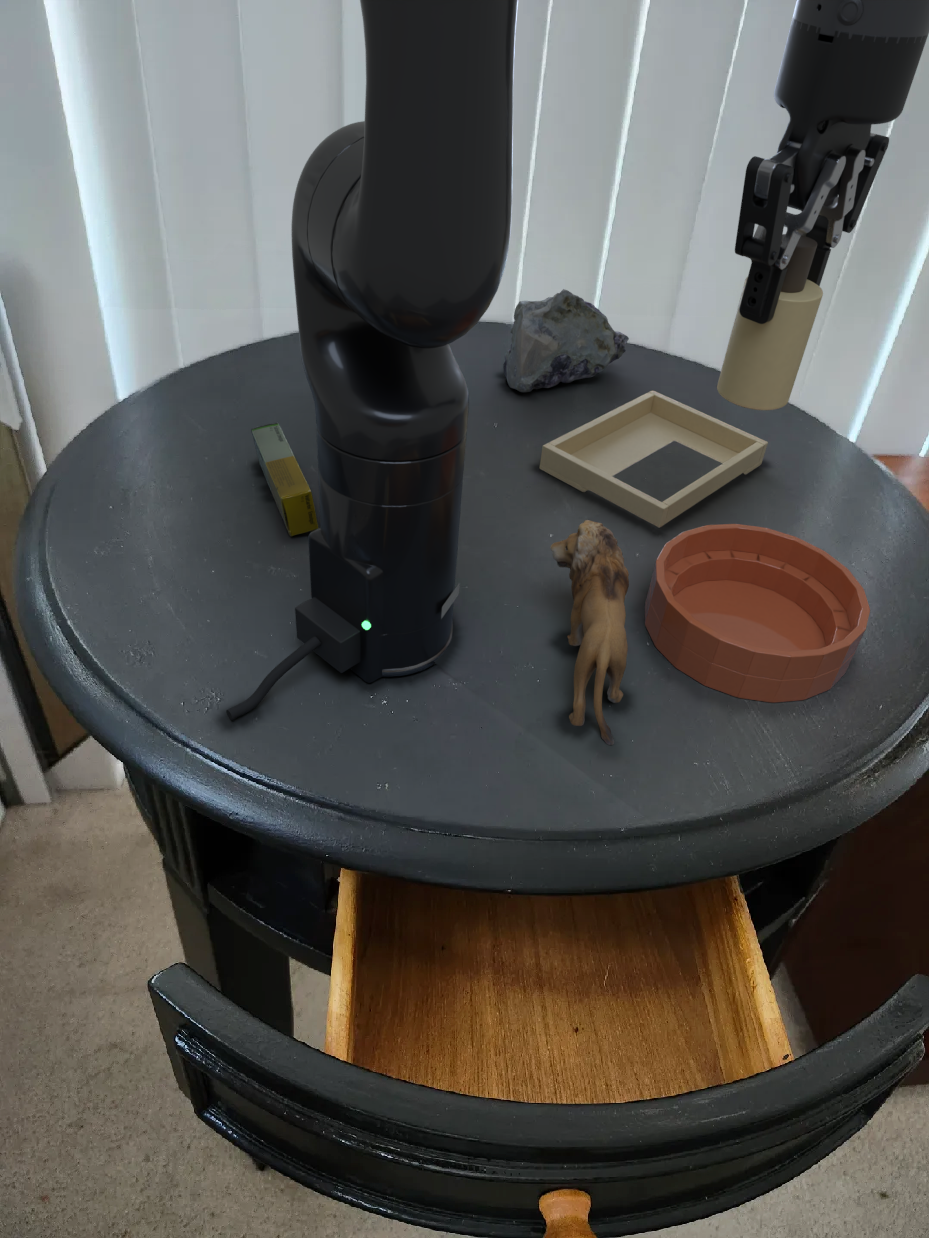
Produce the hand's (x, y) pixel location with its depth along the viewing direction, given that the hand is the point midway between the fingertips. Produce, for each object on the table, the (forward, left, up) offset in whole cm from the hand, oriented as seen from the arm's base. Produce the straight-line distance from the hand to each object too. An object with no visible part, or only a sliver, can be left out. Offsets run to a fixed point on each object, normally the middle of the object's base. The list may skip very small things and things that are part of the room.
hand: (776, 307), depth 63 cm
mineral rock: (+16, +28, -22) cm, 39 cm away
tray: (+9, +11, -22) cm, 26 cm away
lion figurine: (-18, -2, -22) cm, 28 cm away
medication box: (-21, +29, -22) cm, 42 cm away
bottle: (0, 0, -6) cm, 6 cm away
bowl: (-6, -8, -22) cm, 24 cm away
